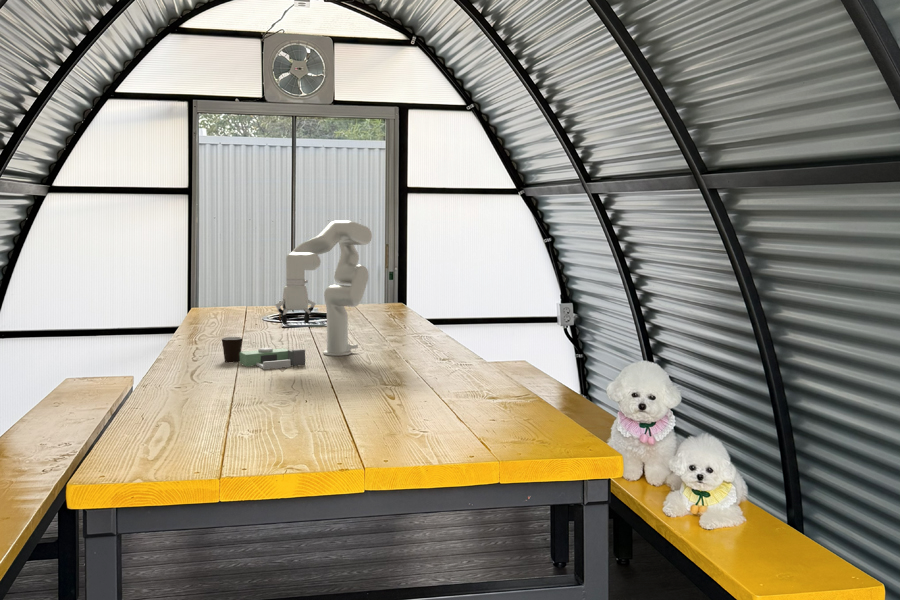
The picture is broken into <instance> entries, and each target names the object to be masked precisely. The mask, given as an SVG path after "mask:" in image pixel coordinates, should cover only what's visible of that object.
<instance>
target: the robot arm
mask: <svg viewBox="0 0 900 600" xmlns="http://www.w3.org/2000/svg"><path fill="white" fill-rule="evenodd" d="M372 238H373V233H372V231H371V229H370V228H369V227H368V226H366V225H364V224H361V223H359V222H355V221H352V220H333V221H331V222H330V223H328V224H327V225H326V226H325V227H324V229H323V230H321V232H320V233H319V234H318V235H316V236H315V237H312V238H311V239H309V240H306V241H304V242H302V243H300V244H298V245H297V246H295V248H294V249H293V250H292V251H291V252H290V253H288V254H287V255H286V258H285V263H286V264H285V265H286V269H285V270H286V271H285V272H286V273H285V274H286V277H285V278H286V279H285V281H286V284H285V285H286V286H284V287H283V292H282V300H280V302H277V303H276V304H275V305H274V306H275V308H276V310H277V312H278V313H280V315H281V323H282V325H288V317H287V316H288V315H287V313H288V312H289V311H304V315H303V319H304V321H303V322H304V323H305V324H309V323H310V314H311V313H312V311H313V310H314V308H315V306H316V303H315V302H314V301H312V300H310V299H309V296H308V288H307V286H306V284H308V279H306V275H305V271H315V270H317V269H318V268H319V267H320V265H321V257H320V256H319V255H323V254H326V253H328V252H330V251H332V249H333V248H334V247H335V246H336V245H337V244H338V246H339V249H340V256H339V260H338V262H337V265H336V269H335V271H334V277H333V278H334V279H333V280H334V281H335V282H336V284H331V285H329V286H327V287H326V288H325V290H324V294H323V298H324V302H325V310H326V349H325V350H323V354H324V355H325V356H334V357H337V356H338V357H339V356H348V355H351V354H352V349H358V347H359V345H358V344H351V343H349V329H348V327H349V323H348V321H349V317H348V312H347V309H346V307H349V308H350V307H351V308H355V307H358V306H359V305H360V304H361V302H362V300H363V297H364V294H365V290H366V288H367V285H368V280H369V270H368V268H367V266H365V265H363V264H358V262H359V261H360V260H359V259H360V255H359V252H358V251H357V248H355V246H366V245H368V244H370V243H371V241H372ZM309 305H310V306H309ZM281 306H282V308H281Z"/></svg>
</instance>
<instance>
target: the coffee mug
mask: <svg viewBox="0 0 900 600" xmlns="http://www.w3.org/2000/svg"><path fill="white" fill-rule="evenodd" d="M221 343H222V352H223V359H224V363H229V362H233V363H239V362H240V352H242V347H243V346H242V345H243V337H241V336H227V337H222V338H221ZM238 361H239V362H238Z"/></svg>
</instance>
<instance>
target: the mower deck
mask: <svg viewBox="0 0 900 600" xmlns="http://www.w3.org/2000/svg"><path fill="white" fill-rule="evenodd" d="M288 350H289V349H287V348H285V347H282V348H272V347H261V348H258V349H257V350H246V351H241V352H240V361H239V364H240V363H241V364H240V365H242V364H243V365H242V366H244V365H245V367H252V366H251V365H257V366H256V367H258V366H259V367H258V368H260V367H261V368H260V369H262V368H263V369H262V370H270V369H269V368H275V369H283V368H282V367H285V368H291V366H292V365H291V364H290V359H289V360H288Z"/></svg>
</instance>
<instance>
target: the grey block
mask: <svg viewBox="0 0 900 600" xmlns="http://www.w3.org/2000/svg"><path fill="white" fill-rule="evenodd" d="M289 359H290V364H291V366H292V365H293V367H299V366H298V365H304V366H306V349H305V348H295V349H288V360H289Z"/></svg>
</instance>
